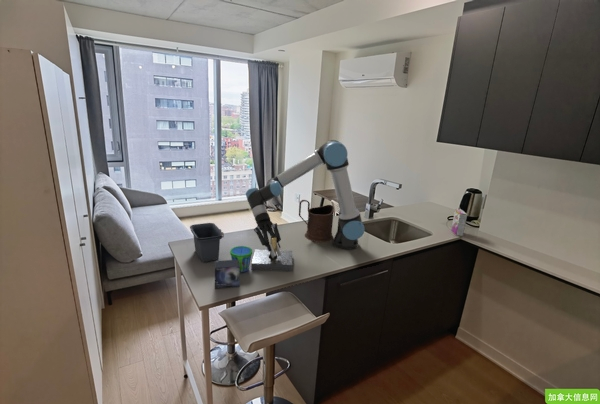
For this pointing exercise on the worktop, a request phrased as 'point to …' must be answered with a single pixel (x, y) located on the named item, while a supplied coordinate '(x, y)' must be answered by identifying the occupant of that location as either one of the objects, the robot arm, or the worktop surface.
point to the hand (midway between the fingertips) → (277, 255)
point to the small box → (227, 274)
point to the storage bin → (207, 240)
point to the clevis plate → (271, 261)
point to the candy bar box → (459, 222)
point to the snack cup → (242, 256)
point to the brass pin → (273, 242)
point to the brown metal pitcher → (319, 223)
